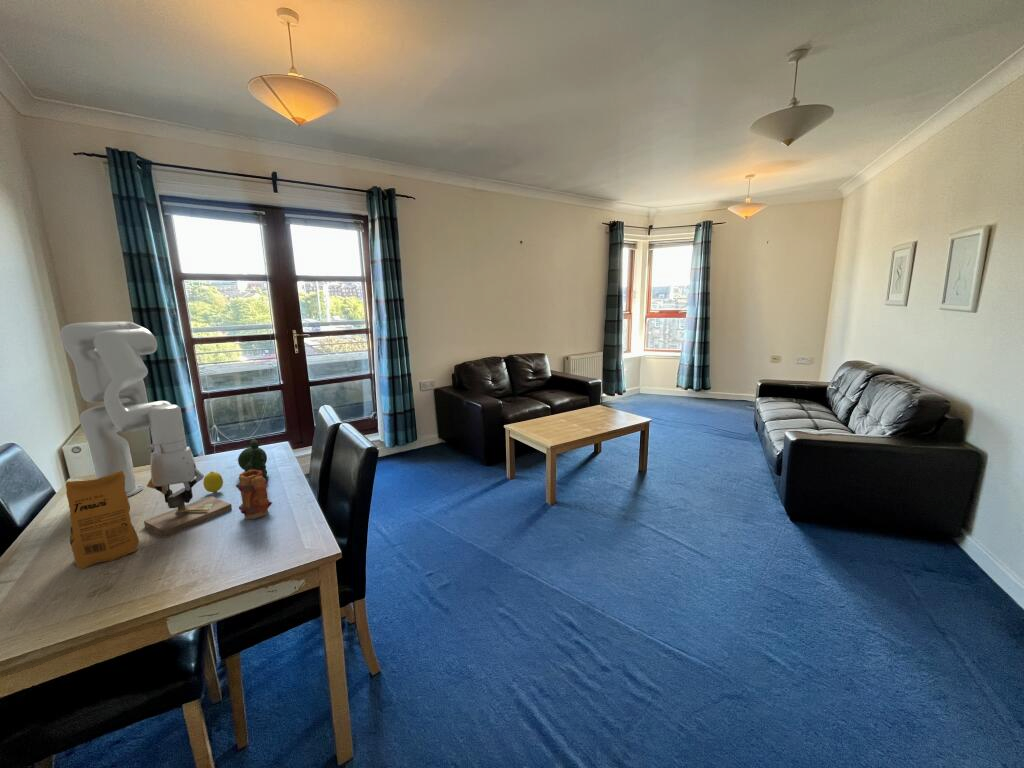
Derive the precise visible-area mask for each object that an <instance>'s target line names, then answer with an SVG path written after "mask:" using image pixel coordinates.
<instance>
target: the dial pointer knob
mask: <svg viewBox="0 0 1024 768" xmlns="http://www.w3.org/2000/svg"><path fill="white" fill-rule="evenodd" d="M184 491H185V487H182V488H181V489H179V490H178V491H176V492H174V493H173V494H172V495H170V496H168V497H167V500H168V503H167V506H168V505H169V506H168V509H177V508H178V509H177V510H176V512H177V513H183V512H185V511H208V510H209V508H187V507H185V505H186V504H185V503H186V501H185V495H184Z"/></svg>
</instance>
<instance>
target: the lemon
mask: <svg viewBox="0 0 1024 768" xmlns="http://www.w3.org/2000/svg"><path fill="white" fill-rule="evenodd" d="M202 483H203V488H204V490H206V492H209V493H213V494H215V493H217V492H218V491H220V490H221V488H223V484H224V479H223V476H222V474H220V473H219V472H218V471H217V472H216V471H210V472H209V473H207V474H206V475H204V478H203V482H202Z"/></svg>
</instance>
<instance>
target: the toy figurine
mask: <svg viewBox="0 0 1024 768" xmlns="http://www.w3.org/2000/svg"><path fill="white" fill-rule="evenodd" d="M249 444H250V447H247V448H244V449H243V450H242V451H241V452H240V454H239V455H238V457H237V463H238V466H239V467H240V468H241V469H242V470H243V471H245V472H247V471H248V470H261V471H262V472H263V478H265V479H266V481H267V482H268V483H269V476H268V475H267V474H268V471H267V469H266V468H267V466H266V463H267V462H268V461H267V460H268V456H267V453H266V451H265V450H264V449H262V448H261V447H260V443H259V442H258V440H257V439H255V438H254V439H251V440H250V441H249Z"/></svg>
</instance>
